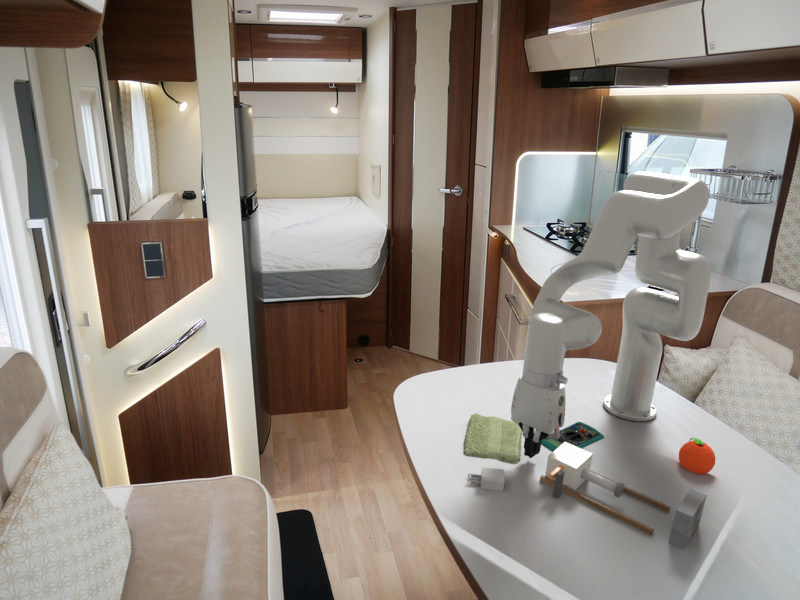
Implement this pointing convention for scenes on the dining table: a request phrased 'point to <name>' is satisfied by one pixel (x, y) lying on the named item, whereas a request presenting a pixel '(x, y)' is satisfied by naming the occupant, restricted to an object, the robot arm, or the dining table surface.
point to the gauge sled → (577, 469)
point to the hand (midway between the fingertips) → (531, 454)
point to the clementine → (697, 456)
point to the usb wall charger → (489, 479)
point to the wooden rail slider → (684, 516)
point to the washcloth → (493, 438)
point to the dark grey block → (558, 484)
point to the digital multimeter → (574, 436)
